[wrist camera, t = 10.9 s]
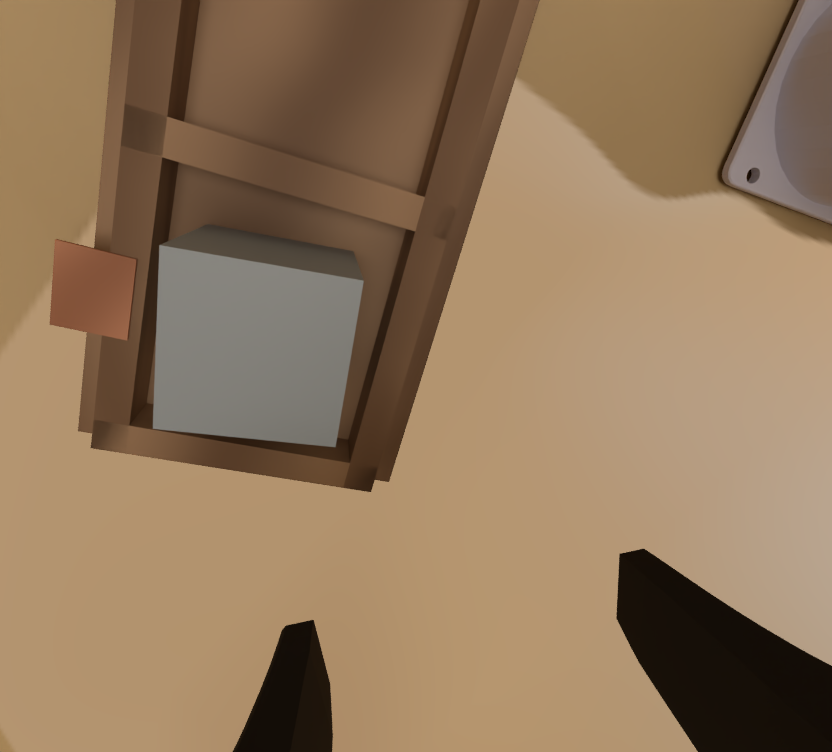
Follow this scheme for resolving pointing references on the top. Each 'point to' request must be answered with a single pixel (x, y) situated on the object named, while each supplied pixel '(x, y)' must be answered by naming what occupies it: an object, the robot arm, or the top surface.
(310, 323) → the slate block
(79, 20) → the top surface
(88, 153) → the top surface
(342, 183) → the slot rack
